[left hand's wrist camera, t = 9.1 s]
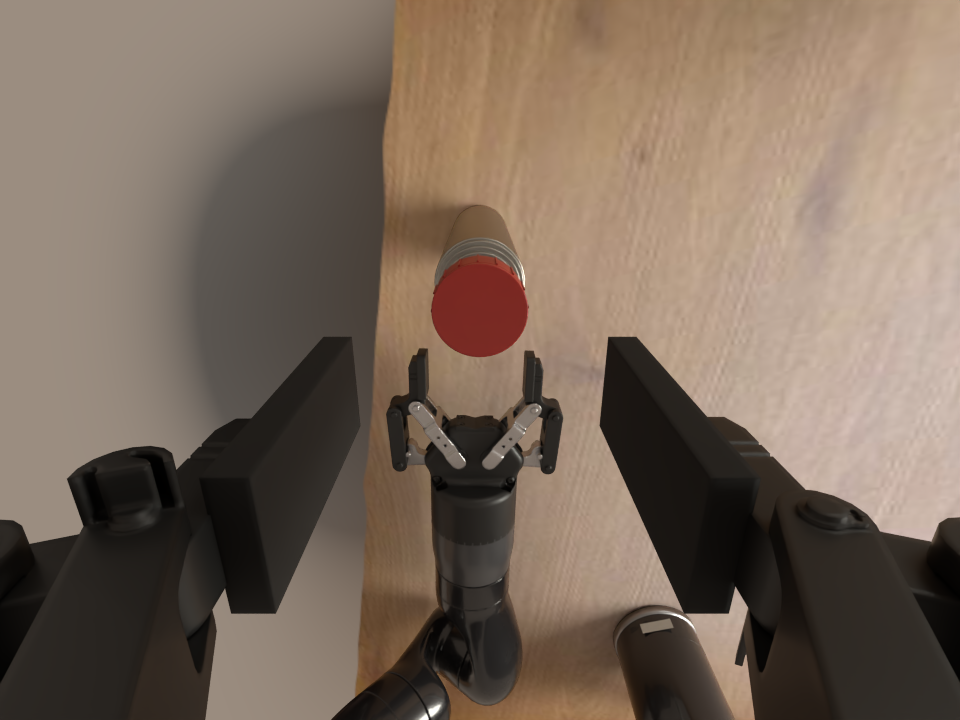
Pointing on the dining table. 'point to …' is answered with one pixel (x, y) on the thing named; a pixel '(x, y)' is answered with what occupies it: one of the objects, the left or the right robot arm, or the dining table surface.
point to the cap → (479, 306)
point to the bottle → (479, 240)
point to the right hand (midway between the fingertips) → (475, 352)
